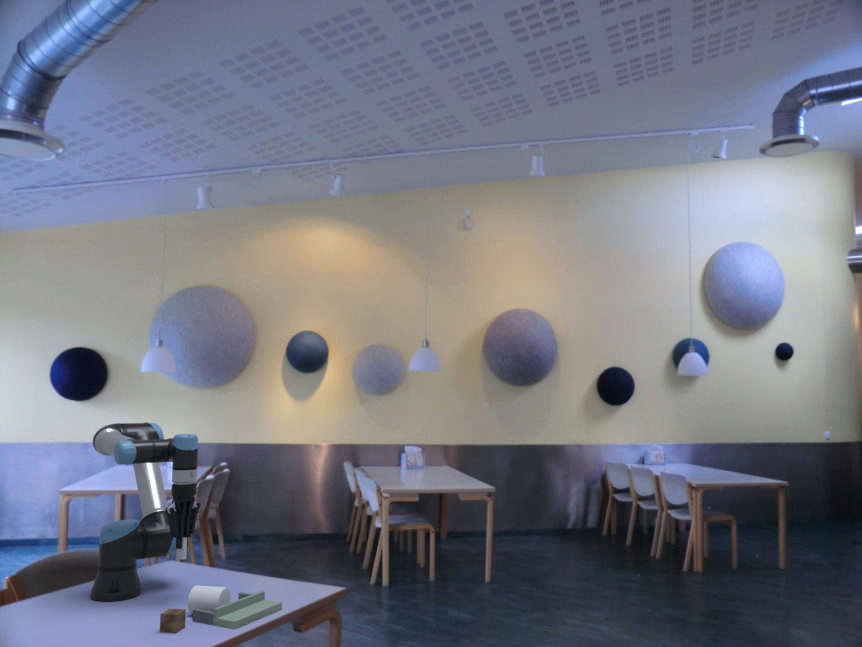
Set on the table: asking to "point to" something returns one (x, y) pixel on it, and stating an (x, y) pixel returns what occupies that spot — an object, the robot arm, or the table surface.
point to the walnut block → (172, 620)
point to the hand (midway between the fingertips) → (181, 558)
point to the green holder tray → (238, 611)
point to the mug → (208, 598)
